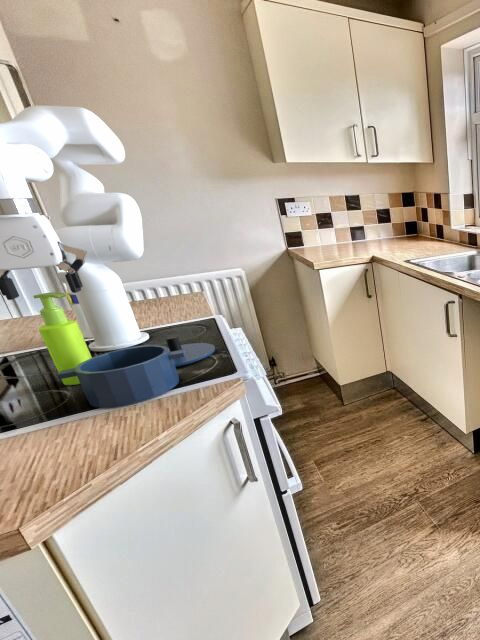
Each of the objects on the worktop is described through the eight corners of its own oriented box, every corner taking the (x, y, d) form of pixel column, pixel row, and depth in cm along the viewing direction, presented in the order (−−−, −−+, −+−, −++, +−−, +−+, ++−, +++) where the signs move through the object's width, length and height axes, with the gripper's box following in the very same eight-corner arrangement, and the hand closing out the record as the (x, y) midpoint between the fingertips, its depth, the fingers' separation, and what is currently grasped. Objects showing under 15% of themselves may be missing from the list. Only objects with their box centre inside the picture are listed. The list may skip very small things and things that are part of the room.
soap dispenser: (86, 384, 92) (47, 296, 85) (55, 385, 93) (14, 297, 85) (110, 373, 98) (76, 289, 91) (81, 374, 98) (44, 290, 91)
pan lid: (146, 355, 108) (138, 334, 106) (218, 343, 115) (212, 323, 113) (131, 377, 95) (122, 354, 93) (213, 362, 102) (206, 340, 100)
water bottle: (82, 340, 120) (44, 252, 111) (79, 334, 126) (43, 249, 116) (120, 333, 126) (87, 248, 117) (116, 327, 131) (84, 246, 122)
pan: (85, 388, 91) (71, 356, 88) (197, 367, 100) (188, 338, 97) (59, 419, 79) (42, 383, 76) (189, 392, 88) (177, 359, 85)
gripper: (-70, 212, 75) (-24, 305, 81) (61, 207, 83) (94, 292, 89) (-45, 211, 81) (-4, 297, 87) (75, 206, 89) (105, 286, 95)
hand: (46, 294), depth 88 cm, fingers open, 9 cm apart
